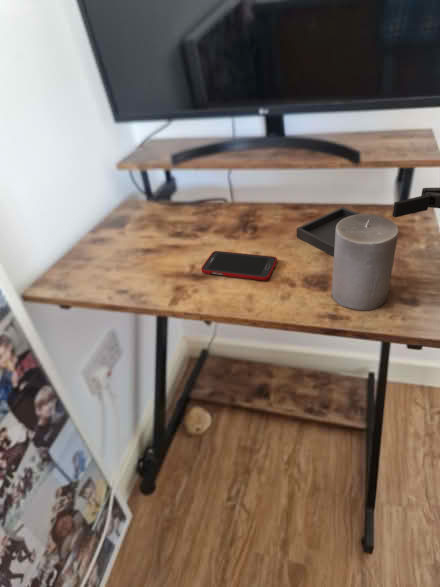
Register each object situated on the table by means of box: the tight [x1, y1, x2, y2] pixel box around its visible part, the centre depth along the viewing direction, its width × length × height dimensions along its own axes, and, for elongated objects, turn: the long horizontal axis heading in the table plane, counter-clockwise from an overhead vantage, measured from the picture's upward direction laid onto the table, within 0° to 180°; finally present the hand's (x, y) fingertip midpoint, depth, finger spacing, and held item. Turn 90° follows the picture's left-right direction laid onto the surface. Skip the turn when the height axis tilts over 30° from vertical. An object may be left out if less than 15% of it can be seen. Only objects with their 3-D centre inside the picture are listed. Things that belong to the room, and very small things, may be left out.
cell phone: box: [200, 250, 278, 282], centre depth 84 cm, size 8×15×1 cm, turn 69°
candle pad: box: [296, 206, 360, 258], centre depth 88 cm, size 14×14×2 cm
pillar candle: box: [331, 213, 400, 312], centre depth 68 cm, size 10×10×15 cm
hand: (417, 226), depth 67 cm, fingers open, 13 cm apart
